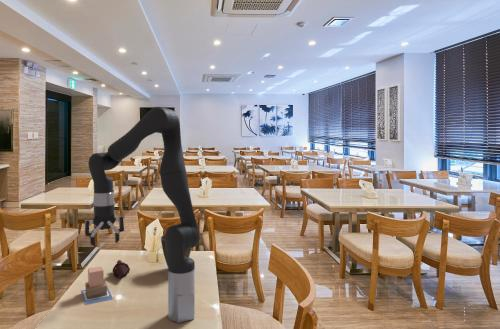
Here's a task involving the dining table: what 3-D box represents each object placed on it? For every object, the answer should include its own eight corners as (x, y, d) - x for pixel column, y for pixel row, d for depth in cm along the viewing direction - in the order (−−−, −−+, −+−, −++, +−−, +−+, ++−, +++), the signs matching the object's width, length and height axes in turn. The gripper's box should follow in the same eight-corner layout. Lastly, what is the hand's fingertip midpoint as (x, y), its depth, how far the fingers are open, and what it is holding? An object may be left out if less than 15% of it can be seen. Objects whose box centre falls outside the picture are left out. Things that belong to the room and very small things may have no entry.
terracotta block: (103, 285, 142) (103, 270, 142) (90, 287, 140) (89, 272, 139) (101, 280, 147) (101, 266, 146) (88, 283, 144) (87, 268, 143)
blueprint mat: (113, 300, 139) (113, 298, 139) (84, 306, 134) (84, 304, 134) (107, 286, 151) (106, 285, 151) (80, 291, 146) (80, 290, 146)
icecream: (134, 266, 157) (127, 259, 170) (117, 265, 153) (111, 257, 166) (130, 283, 156) (124, 274, 169) (113, 281, 152) (108, 272, 165)
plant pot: (158, 266, 174) (157, 234, 173) (188, 262, 181) (188, 231, 179) (164, 277, 161) (164, 243, 160) (196, 272, 167) (196, 239, 166)
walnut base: (107, 295, 142) (106, 285, 142) (87, 299, 139) (87, 289, 138) (104, 288, 148) (103, 279, 148) (85, 292, 145) (85, 282, 144)
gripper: (85, 207, 134) (86, 249, 135) (124, 203, 142) (125, 243, 143) (82, 203, 140) (84, 244, 142) (120, 200, 148) (121, 239, 149)
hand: (105, 244), depth 142 cm, fingers open, 8 cm apart
